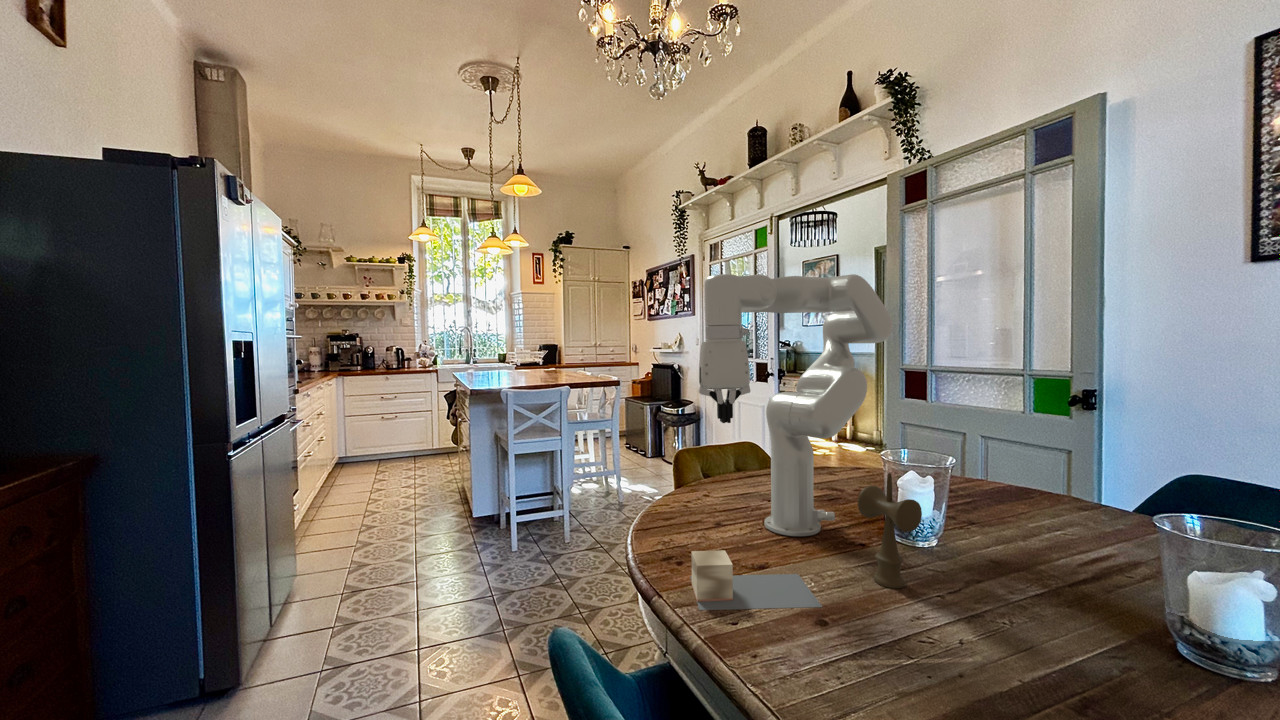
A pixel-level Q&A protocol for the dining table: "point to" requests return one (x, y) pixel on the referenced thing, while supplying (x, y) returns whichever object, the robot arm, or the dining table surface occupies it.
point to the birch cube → (712, 575)
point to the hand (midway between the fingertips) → (725, 421)
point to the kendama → (889, 529)
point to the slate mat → (765, 593)
